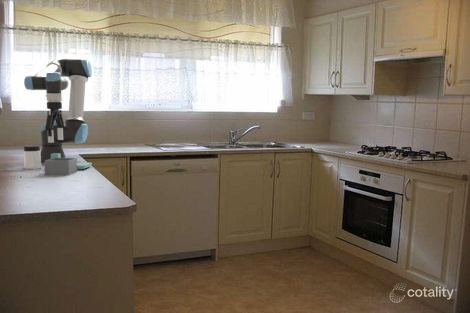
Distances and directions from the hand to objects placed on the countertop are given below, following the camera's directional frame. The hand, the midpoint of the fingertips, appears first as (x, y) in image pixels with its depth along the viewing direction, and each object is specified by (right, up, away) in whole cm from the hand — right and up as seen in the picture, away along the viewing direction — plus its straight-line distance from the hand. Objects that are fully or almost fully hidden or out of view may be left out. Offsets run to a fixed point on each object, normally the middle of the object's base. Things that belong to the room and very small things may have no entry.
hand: (55, 141), depth 269 cm
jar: (-13, -15, +2) cm, 20 cm away
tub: (+9, -17, -16) cm, 24 cm away
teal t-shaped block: (+7, -15, +1) cm, 16 cm away
